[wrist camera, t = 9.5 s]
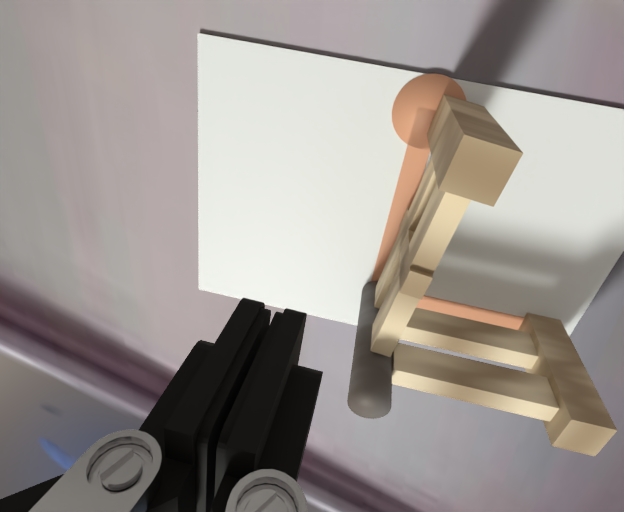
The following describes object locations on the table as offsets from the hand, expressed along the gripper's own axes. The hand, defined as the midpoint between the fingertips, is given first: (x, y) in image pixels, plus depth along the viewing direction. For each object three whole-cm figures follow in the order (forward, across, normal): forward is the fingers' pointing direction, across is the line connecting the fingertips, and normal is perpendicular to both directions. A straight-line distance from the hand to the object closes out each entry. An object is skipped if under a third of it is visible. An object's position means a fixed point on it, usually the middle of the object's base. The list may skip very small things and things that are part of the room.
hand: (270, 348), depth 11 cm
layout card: (+15, -4, +2) cm, 15 cm away
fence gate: (+14, -4, +1) cm, 15 cm away
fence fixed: (+15, -8, +7) cm, 19 cm away
